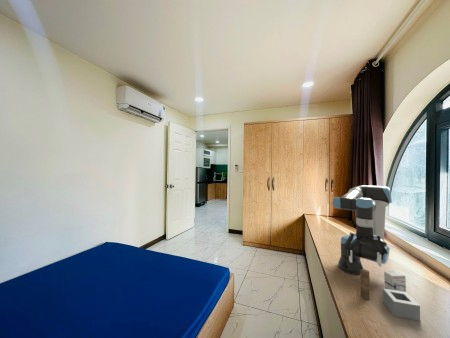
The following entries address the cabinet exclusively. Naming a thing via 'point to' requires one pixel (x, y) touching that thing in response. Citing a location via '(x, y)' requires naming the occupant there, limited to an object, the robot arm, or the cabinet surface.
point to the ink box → (395, 281)
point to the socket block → (401, 304)
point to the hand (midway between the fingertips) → (364, 263)
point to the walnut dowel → (364, 284)
